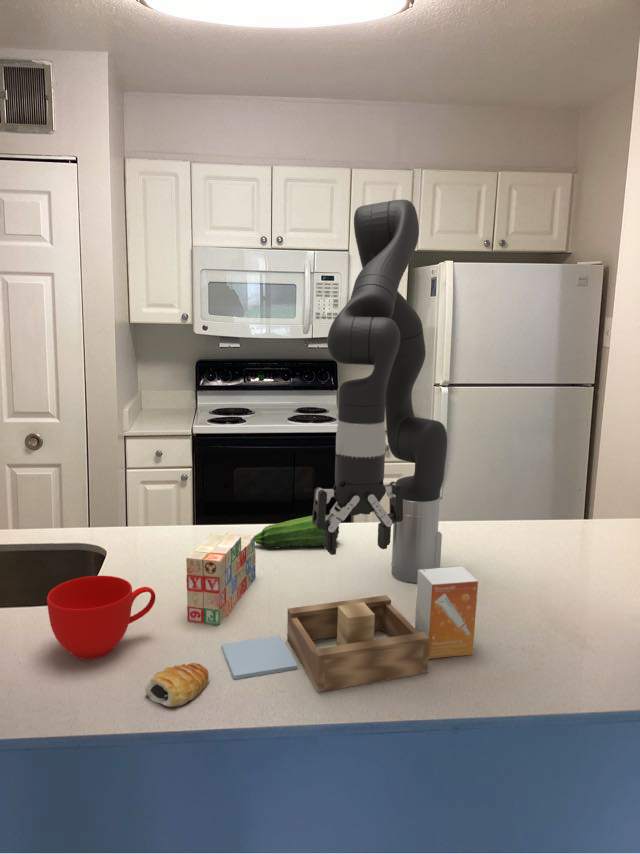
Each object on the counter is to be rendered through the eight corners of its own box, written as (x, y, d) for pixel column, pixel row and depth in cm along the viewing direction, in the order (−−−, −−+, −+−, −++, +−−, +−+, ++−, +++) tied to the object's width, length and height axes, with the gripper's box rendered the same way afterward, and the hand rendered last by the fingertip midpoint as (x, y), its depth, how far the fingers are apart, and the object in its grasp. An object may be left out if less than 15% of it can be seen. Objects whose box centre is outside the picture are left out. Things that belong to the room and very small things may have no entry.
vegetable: (339, 511, 158) (252, 515, 154) (342, 542, 156) (254, 547, 153) (334, 516, 165) (251, 520, 161) (336, 546, 163) (252, 551, 160)
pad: (280, 638, 116) (280, 635, 116) (297, 668, 107) (297, 665, 107) (221, 647, 113) (221, 644, 113) (233, 679, 103) (233, 675, 103)
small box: (427, 660, 110) (431, 584, 107) (413, 641, 116) (416, 568, 113) (474, 655, 112) (479, 580, 109) (458, 636, 118) (462, 565, 115)
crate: (385, 625, 121) (386, 595, 120) (427, 672, 106) (429, 638, 105) (287, 640, 115) (287, 608, 114) (317, 692, 100) (318, 655, 99)
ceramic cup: (167, 651, 111) (166, 594, 109) (57, 678, 103) (53, 616, 101) (145, 619, 122) (144, 566, 120) (44, 640, 114) (41, 584, 112)
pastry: (187, 669, 106) (187, 647, 106) (220, 684, 103) (220, 660, 102) (141, 698, 99) (140, 674, 98) (175, 715, 95) (174, 689, 94)
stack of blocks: (227, 575, 142) (226, 518, 140) (256, 578, 141) (256, 521, 138) (187, 622, 121) (185, 556, 119) (220, 626, 120) (219, 560, 118)
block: (362, 647, 114) (363, 602, 112) (373, 661, 109) (374, 614, 108) (336, 651, 112) (337, 605, 111) (346, 665, 108) (348, 618, 106)
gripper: (392, 442, 110) (388, 538, 113) (308, 446, 106) (306, 546, 109) (413, 452, 103) (408, 554, 106) (324, 457, 99) (321, 564, 102)
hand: (357, 550), depth 107 cm, fingers open, 8 cm apart
